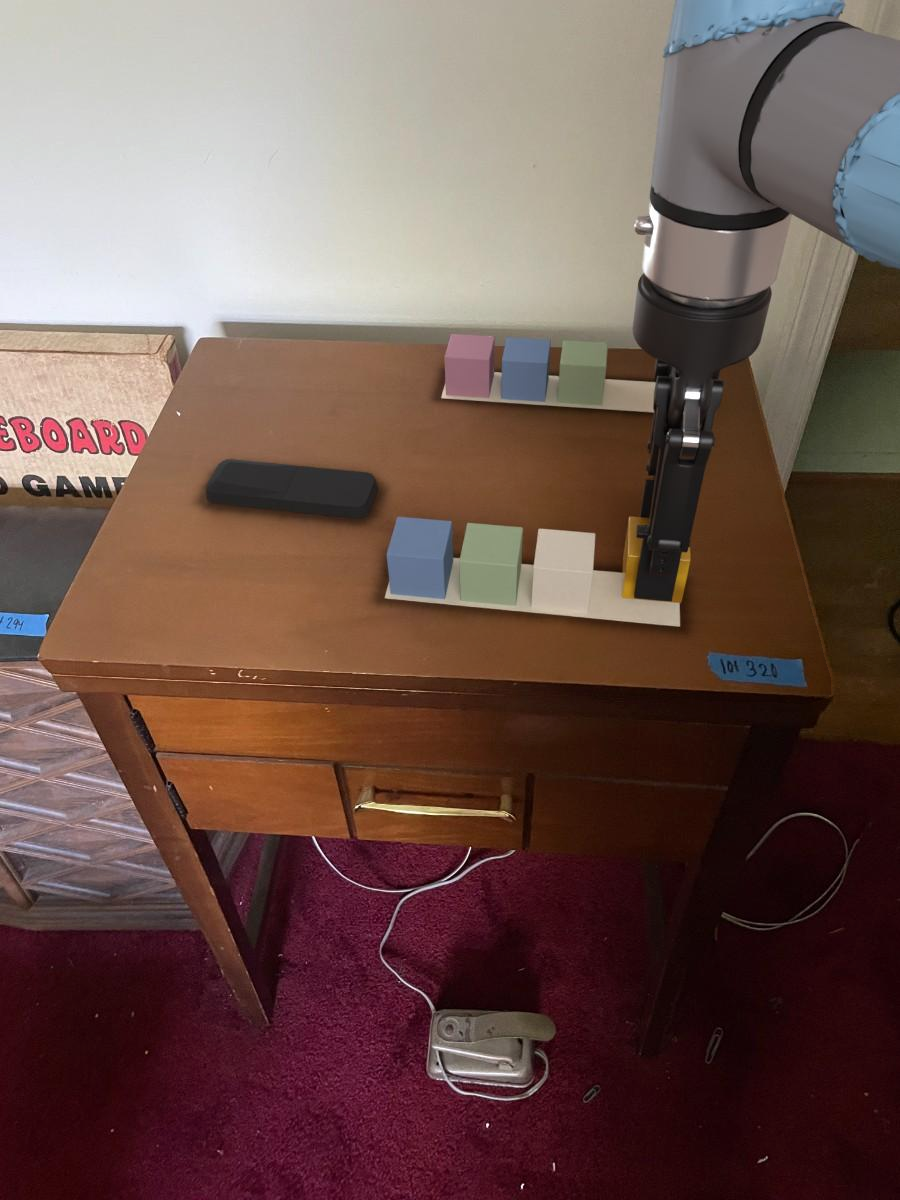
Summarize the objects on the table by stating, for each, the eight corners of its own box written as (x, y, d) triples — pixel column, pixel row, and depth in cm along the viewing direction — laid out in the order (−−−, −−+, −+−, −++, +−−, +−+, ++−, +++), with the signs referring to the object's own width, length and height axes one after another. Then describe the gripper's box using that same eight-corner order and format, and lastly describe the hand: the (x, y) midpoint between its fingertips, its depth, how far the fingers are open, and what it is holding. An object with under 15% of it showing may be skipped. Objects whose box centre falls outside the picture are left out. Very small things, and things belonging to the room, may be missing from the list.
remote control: (380, 488, 81) (222, 468, 83) (379, 473, 80) (219, 452, 82) (367, 524, 78) (203, 502, 80) (366, 508, 77) (199, 486, 78)
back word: (673, 384, 91) (680, 344, 88) (674, 413, 87) (681, 373, 84) (449, 370, 94) (448, 331, 90) (441, 398, 90) (439, 358, 87)
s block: (680, 563, 70) (689, 520, 66) (681, 603, 67) (690, 560, 63) (622, 558, 70) (629, 515, 67) (621, 598, 67) (627, 555, 64)
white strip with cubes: (678, 578, 72) (687, 537, 69) (679, 626, 68) (689, 585, 65) (397, 553, 75) (393, 512, 71) (384, 598, 71) (380, 557, 68)
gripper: (640, 212, 58) (606, 496, 74) (637, 354, 46) (598, 654, 62) (760, 216, 57) (699, 502, 73) (790, 362, 45) (708, 665, 61)
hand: (652, 572), depth 68 cm, fingers closed on s block, 4 cm apart
